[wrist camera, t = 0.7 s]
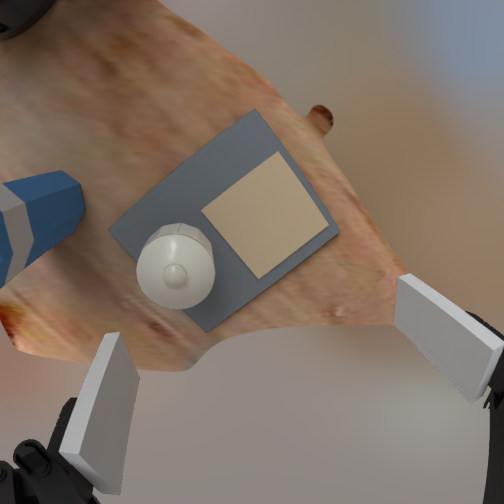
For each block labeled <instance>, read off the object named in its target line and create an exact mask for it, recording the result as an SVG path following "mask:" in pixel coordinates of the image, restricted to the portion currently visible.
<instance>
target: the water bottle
mask: <svg viewBox="0 0 504 504" xmlns="http://www.w3.org/2000/svg"><path fill="white" fill-rule="evenodd" d="M84 211H85V206H84V202H83V197H82V192H81V187H80V184H79V183H78V182H77V181H75V180H74V179H72V178H71V177H70V176H68V175H67V174H66V173H64V172H63V171H62V170H61V171H56V172H51V173H46V174H41V175H37V176H32V177H28V178H23V179H19V180H15V181H11V182H7V183H3V184H0V289H1V288H2V287H3V286H4V285H5V284H7V283H8V282H9V281H10V280H11V279H13V278H14V277H15V276H16V275H17V274H19V273H20V272H21V271H22V270H23V269H25V268H26V267H27V266H28V265H30V264H31V263H32V262H34V261H35V260H36V259H37V258H39V257H40V256H41V255H43V254H44V253H45V252H47V251H48V250H49V249H51V248H52V247H53V246H55V245H56V244H57V243H59V242H60V241H61V240H63V239H64V238H66V237H67V236H68V235H70V234H71V233H73V232H74V231H75V229H76V227H77V225H78V223H79V221H80V219H81V217H82V215H83V213H84Z"/></svg>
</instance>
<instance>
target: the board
mask: <svg viewBox="0 0 504 504" xmlns="http://www.w3.org/2000/svg"><path fill="white" fill-rule="evenodd" d="M176 223H181V224H182V223H184V224H186V225H189V226H192V227H195V228H198V230H200V231H201V232H202V233H203V234H204V235H205V237H206V238H207V239H208V240H209V241H210V242H211V245H212V251H213V257H214V264H215V279H214V283H213V287H212V289H211V291H210V292H209V294H208V295H207V297H206V298H205V299H204V300H202V301H201V302H200V303H198V304H197V305H195V306H193V307H190V308H186V309H182V310H183V311H184V312H185V313H186V314H187V315H188V316H189V317H190V318H191V319H193V320H194V321H195V322H196V323H197V324H198V325H199V326H200V327H201V328H202V329H203V330H204V331H205V332H208V331H209V330H210V329H212V328H213V327H215V326H216V325H217V324H219V323H220V322H222V321H223V320H224V319H226V318H227V317H228V316H230V315H231V314H233V313H234V312H235V311H237V310H238V309H239V308H241V307H242V306H244V305H245V304H246V303H248V302H249V301H250V300H252V299H253V298H254V297H256V296H257V295H258V294H260V293H261V292H262V291H264V290H265V289H266V288H268V287H269V286H270V285H272V284H273V283H274V282H276V281H277V280H278V279H280V278H281V277H282V276H284V275H285V274H286V273H288V272H289V271H290V270H292V269H293V268H294V267H295V266H297V265H298V264H299V263H301V262H302V261H303V260H305V259H306V258H307V257H308V256H310V255H311V254H312V253H314V252H315V251H316V250H317V249H319V248H320V247H321V246H323V245H324V244H325V243H326V242H328V241H329V240H330V239H331V238H333V237H334V236H335V235H336V234H338V233H339V232H340V229H339V228H338V226H337V224H336V223H335V221H334V220H333V218H332V217H331V215H330V213H329V212H328V210H327V209H326V207H325V206H324V204H323V203H322V201H321V200H320V198H319V197H318V195H317V194H316V192H315V191H314V189H313V188H312V186H311V185H310V183H309V182H308V180H307V179H306V177H305V176H304V174H303V173H302V171H301V170H300V168H299V167H298V166H297V164H296V163H295V161H294V160H293V159H292V157H291V156H290V154H289V153H288V152H287V150H286V149H285V147H284V146H283V145H282V143H281V142H280V140H279V139H278V138H277V136H276V135H275V134H274V132H273V131H272V130H271V128H270V127H269V126H268V124H267V123H266V122H265V120H264V119H263V118H262V116H261V115H260V114H259V113H258V111H257V110H256V109H254V110H253V111H251V112H250V113H248V114H247V115H245V116H244V117H243V118H241V119H240V120H238V121H237V122H236V123H234V124H233V125H232V126H230V127H229V128H227V129H226V130H225V131H223V132H222V133H221V134H219V135H218V136H217V137H215V138H214V139H213V140H211V141H210V142H209V143H207V144H206V145H205V146H204V147H202V148H201V149H200V150H198V151H197V152H196V153H195V154H193V155H192V156H191V157H190V158H188V159H187V160H186V161H185V162H184V163H182V164H181V165H180V166H179V167H177V168H176V169H175V170H174V171H173V172H171V173H170V174H169V175H168V176H167V177H166V178H164V179H163V180H162V181H161V182H160V183H159V184H157V185H156V186H155V187H154V188H153V189H152V190H151V191H149V192H148V193H147V194H146V195H145V196H144V197H143V198H142V199H141V200H139V201H138V202H137V203H136V204H135V205H134V206H133V207H132V208H131V209H130V210H129V211H127V212H126V213H125V214H124V215H123V216H122V217H121V218H120V219H119V220H118V221H117V222H116V223H115V224H114V225H113V226H112V227H111V228H110V229H109V230H108V231H109V232H110V233H111V234H112V236H113V237H114V238H115V239H116V240H117V241H118V242H119V244H120V245H121V246H122V247H123V248H124V249H125V250H126V251H127V252H128V254H129V255H130V256H131V257H132V258H133V259H134V260H135V261H136V262H137V263H138V260H139V257H140V255H141V252H142V249H143V247H144V246H145V244H146V242H147V241H148V239H149V237H151V236H152V235H153V234H154V233H155V232H156V231H157V230H159V229H160V228H161V227H163V226H165V225H171V224H176Z"/></svg>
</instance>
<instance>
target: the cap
mask: <svg viewBox="0 0 504 504" xmlns="http://www.w3.org/2000/svg"><path fill="white" fill-rule="evenodd" d="M136 273H137V280H138V283H139V286H140V288H141V290H142V291H143V292H144V294H145V295H146V296H147V297H148V298H149V299H150V300H151V301H153V302H154V303H155V304H157V305H159V306H162V307H164V308H168V309H177V310H179V309H186V308H190V307H193V306H195V305H197V304H198V303H200V302H201V301H202V300H204V299H205V298H206V297H207V295H208V294H209V292H210V291H211V289H212V287H213V283H214V279H215V264H214V257H213V251H212V245H211V242H210V241H209V240H208V239H207V238H206V237H205V235H204V234H203V233H202V232H201V231H200V230H198V228H195V227H192V226H189V225H186V224H184V223H182V224H181V223H176V224H171V225H165V226H163V227H161V228H160V229H159V230H157V231H156V232H155V233H154V234H153V235H152V236H151V237H149V239H148V241H147V242H146V244H145V246H144V247H143V249H142V252H141V255H140V257H139V260H138V263H137V270H136Z"/></svg>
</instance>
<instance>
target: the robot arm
mask: <svg viewBox="0 0 504 504" xmlns="http://www.w3.org/2000/svg"><path fill="white" fill-rule="evenodd" d="M54 1H55V0H0V39H9V38H12V37H14V36H17V35H19V34H20V33H22V32H24V31H25V30H27V29H28V28H29V27H31V26H32V25H33V24H34V23H35V22H37V21H38V20H39V19H40V18H41V17H42V16H43V15H44V14H45V13H46V11H47V10H48V9H49V8H50V7H51V5H52V4H53V3H54ZM394 325H395V326H396V327H397V328H399V330H400V331H401V332H402V333H403V334H404V335H405V336H406V337H408V339H409V340H410V341H411V342H412V343H413V344H414V345H415V346H416V347H417V348H418V349H419V350H420V351H421V352H422V353H423V354H424V355H425V356H426V357H427V358H428V359H429V360H430V361H431V362H432V363H433V364H434V365H435V366H436V367H437V368H438V369H439V371H441V372H442V374H443V375H444V376H445V377H446V378H447V379H448V380H449V381H450V382H451V383H452V384H453V385H454V386H455V387H456V388H457V390H458V391H459V392H460V393H461V394H462V395H463V396H464V397H465V398H466V399H467V400H468V402H469V403H470V404H471V403H473V402H474V401H476V400H477V399H479V398H480V397H482V396H483V394H484V392H485V390H486V388H487V386H489V387H490V388H491V391H490V394H489V396H488V398H487V399H486V401H485V403H484V406H483V408H486V406H487V404H488V402H490V406H489V409H490V441H489V458H488V469H487V479H486V486H485V493H484V499H483V504H504V336H503V335H502V334H501V333H500V332H498V331H497V330H496V329H494V328H493V327H492V326H490V325H489V324H488V323H487V322H484V321H483V320H482V319H481V318H480V317H478V316H477V315H475V314H473V313H470V312H467V311H463V310H462V309H460V308H459V307H458V306H456V305H455V304H453V303H452V302H451V301H449V300H448V299H446V298H445V297H444V296H442V295H441V294H439V293H438V292H437V291H435V290H434V289H432V288H431V287H429V286H428V285H426V284H425V283H423V282H422V281H421V280H419V279H417V278H416V277H415V276H413V275H412V274H407V275H403V276H399V277H398V287H397V298H396V308H395V317H394ZM139 380H140V377H139V375H138V372H137V370H136V368H135V366H134V364H133V361H132V359H131V357H130V355H129V352H128V350H127V348H126V345H125V343H124V340H123V338H122V336H121V333H120V332H116V333H107V334H105V335H104V338H103V340H102V342H101V344H100V346H99V349H98V351H97V353H96V355H95V358H94V360H93V362H92V365H91V367H90V369H89V372H88V374H87V376H86V379H85V381H84V384H83V386H82V389H81V391H80V394H79V397H78V398H70V399H69V400H68V401H67V403H66V404H65V405H64V406H63V408H62V411H61V413H60V415H59V417H60V418H59V419H58V421H57V423H56V426H55V429H54V431H53V434H52V436H51V439H50V442H49V445H48V448H47V450H46V449H45V448H44V447H43V445H41V443H40V442H38V441H36V440H33V439H28V440H25V441H23V442H21V443H20V444H19V445H18V446H17V447H16V449H15V450H14V454H13V461H14V463H16V464H17V466H18V467H19V469H14V468H13V467H12V466H11V465H10V464H9V463H7V462H5V461H0V504H100V502H99V501H98V500H97V498H96V497H95V496H94V495H93V494H92V492H93V486H94V487H95V488H96V489H97V490H98V491H100V492H101V493H104V494H114V495H120V493H121V484H122V477H123V469H124V462H125V455H126V449H127V443H128V437H129V431H130V425H131V420H132V414H133V409H134V404H135V398H136V394H137V389H138V384H139Z"/></svg>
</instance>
